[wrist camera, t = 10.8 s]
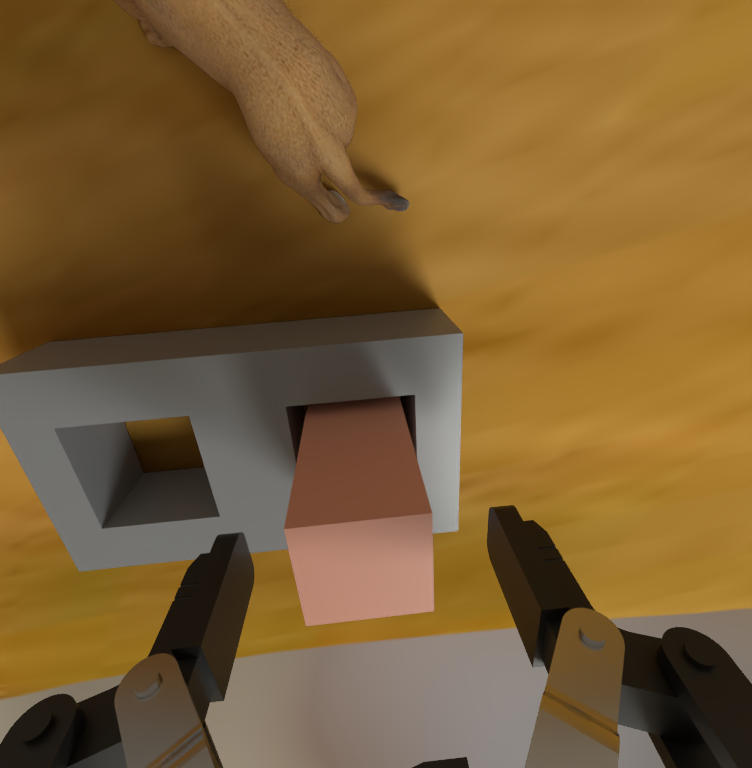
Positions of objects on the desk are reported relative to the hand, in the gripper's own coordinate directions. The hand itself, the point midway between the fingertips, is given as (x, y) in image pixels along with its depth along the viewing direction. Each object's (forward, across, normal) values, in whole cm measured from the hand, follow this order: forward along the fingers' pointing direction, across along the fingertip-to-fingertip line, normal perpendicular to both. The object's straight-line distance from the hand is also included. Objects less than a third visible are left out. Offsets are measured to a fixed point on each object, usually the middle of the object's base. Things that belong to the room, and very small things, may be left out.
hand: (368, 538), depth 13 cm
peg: (+8, 0, 0) cm, 9 cm away
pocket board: (+8, +5, 0) cm, 10 cm away
